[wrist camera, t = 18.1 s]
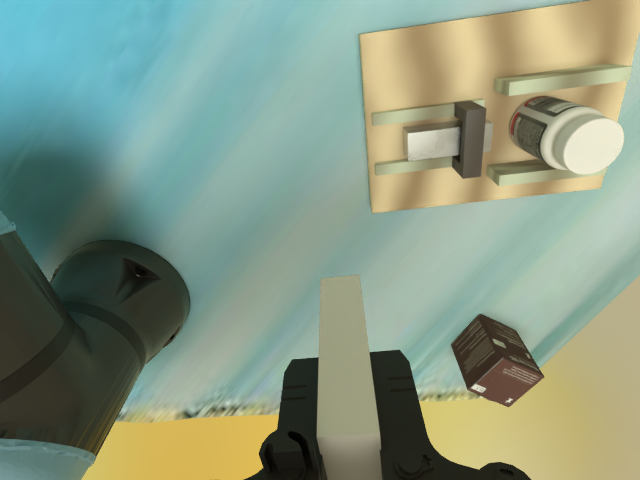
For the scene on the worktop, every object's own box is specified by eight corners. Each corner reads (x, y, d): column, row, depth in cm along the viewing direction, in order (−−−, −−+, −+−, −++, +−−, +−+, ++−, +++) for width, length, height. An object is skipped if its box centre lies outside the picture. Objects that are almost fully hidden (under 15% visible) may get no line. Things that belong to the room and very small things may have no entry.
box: (517, 330, 47) (546, 377, 41) (485, 360, 50) (508, 408, 44) (478, 312, 46) (503, 357, 40) (448, 344, 49) (467, 391, 42)
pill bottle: (533, 159, 35) (587, 192, 28) (496, 130, 34) (543, 158, 27) (575, 115, 33) (645, 138, 26) (538, 83, 32) (600, 99, 25)
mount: (370, 206, 39) (377, 231, 35) (358, 34, 32) (364, 34, 27) (590, 182, 38) (629, 205, 33) (634, -7, 30) (693, -14, 25)
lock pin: (403, 153, 35) (408, 161, 33) (402, 127, 34) (407, 133, 32) (480, 143, 34) (490, 151, 32) (482, 117, 33) (493, 123, 31)
